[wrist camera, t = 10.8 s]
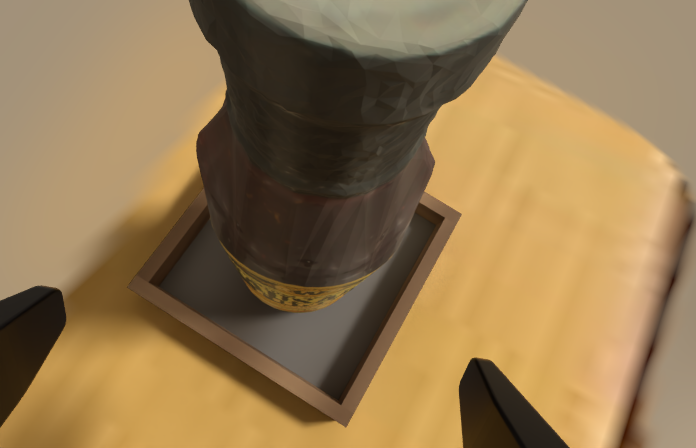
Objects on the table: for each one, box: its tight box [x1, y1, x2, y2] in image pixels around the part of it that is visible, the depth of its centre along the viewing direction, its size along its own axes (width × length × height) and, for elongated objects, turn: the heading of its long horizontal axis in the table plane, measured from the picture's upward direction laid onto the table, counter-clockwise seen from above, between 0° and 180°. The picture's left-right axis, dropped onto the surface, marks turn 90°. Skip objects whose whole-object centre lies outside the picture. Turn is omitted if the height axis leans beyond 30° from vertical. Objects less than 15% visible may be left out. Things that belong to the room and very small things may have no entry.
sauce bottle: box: [189, 0, 528, 313], centre depth 14 cm, size 7×6×20 cm
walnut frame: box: [127, 188, 462, 427], centre depth 23 cm, size 12×12×2 cm
